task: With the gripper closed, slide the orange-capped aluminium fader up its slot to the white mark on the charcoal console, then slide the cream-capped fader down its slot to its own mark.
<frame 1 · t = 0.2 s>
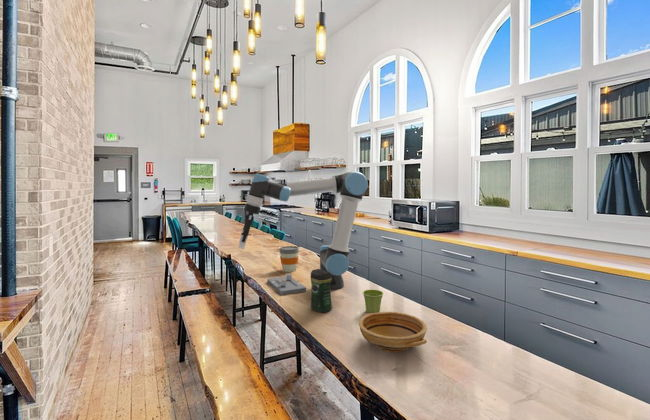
hand: (241, 245, 179), 27 cm above the table, tool tilted 20°, fingers open, 13 cm apart
coffee jar: (321, 309, 166), on the table
ceramic bowl: (392, 345, 130), on the table
fader B: (288, 276, 208), point 4 cm above the table, slide at 5.0 cm
plant pot: (373, 311, 163), on the table
reusable coffee cup: (289, 270, 238), on the table
fader A: (282, 282, 196), point 4 cm above the table, slide at -5.0 cm
console: (286, 286, 202), on the table
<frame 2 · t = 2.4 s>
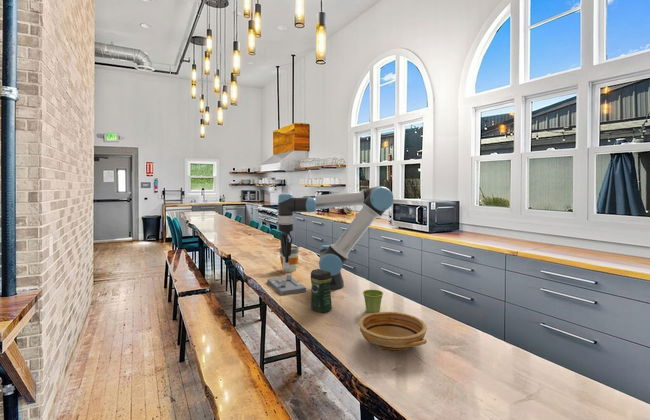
hand: (286, 268, 189), 14 cm above the table, tool pointing down, fingers closed
nothing on the table moved.
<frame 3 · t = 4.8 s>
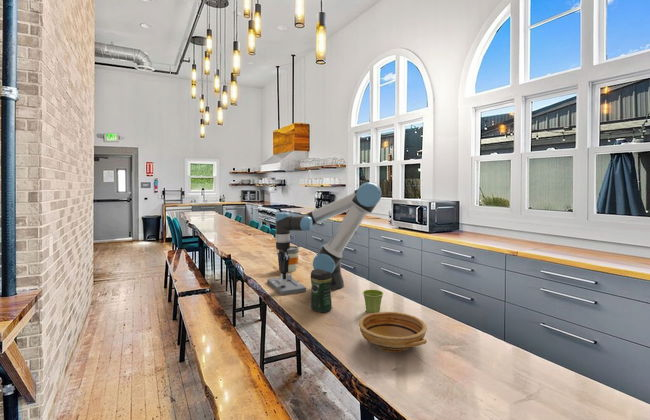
hand: (283, 284, 194), 3 cm above the table, tool pointing down, fingers closed
fader A: (282, 282, 196), point 4 cm above the table, slide at -5.0 cm, touching gripper
everything else where it was.
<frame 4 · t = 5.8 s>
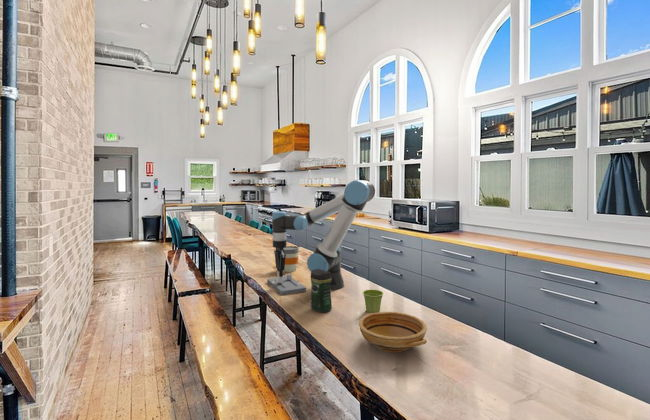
hand: (280, 281, 199), 3 cm above the table, tool pointing down, fingers closed
fader A: (279, 280, 201), point 4 cm above the table, slide at 0.8 cm, touching gripper
everything else where it was.
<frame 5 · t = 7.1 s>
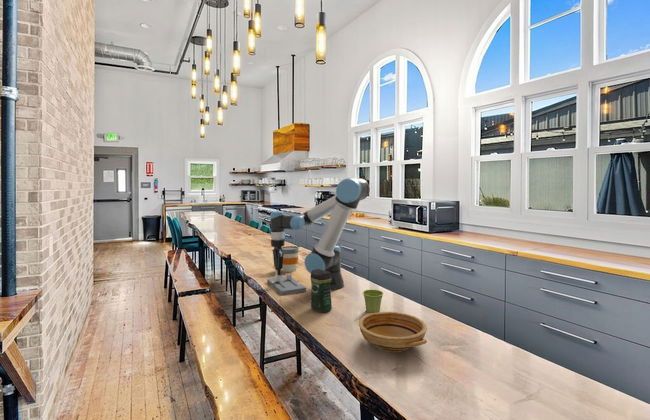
hand: (278, 280, 202), 3 cm above the table, tool pointing down, fingers closed
fader A: (277, 278, 204), point 4 cm above the table, slide at 4.2 cm, touching gripper
everything else where it was.
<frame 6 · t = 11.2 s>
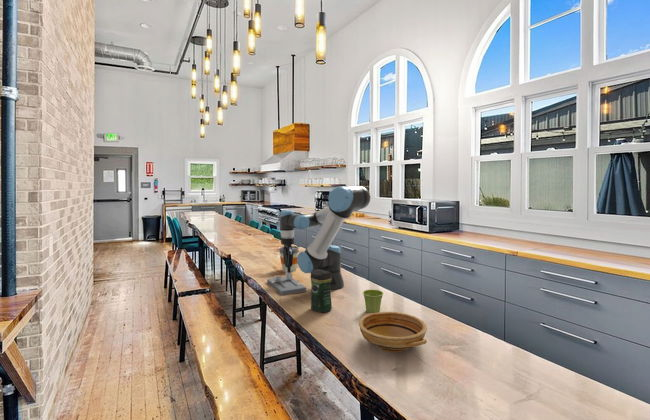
hand: (288, 277, 209), 3 cm above the table, tool pointing down, fingers closed
fader B: (289, 277, 207), point 4 cm above the table, slide at 4.2 cm, touching gripper
fader A: (277, 278, 204), point 4 cm above the table, slide at 4.2 cm
everything else where it was.
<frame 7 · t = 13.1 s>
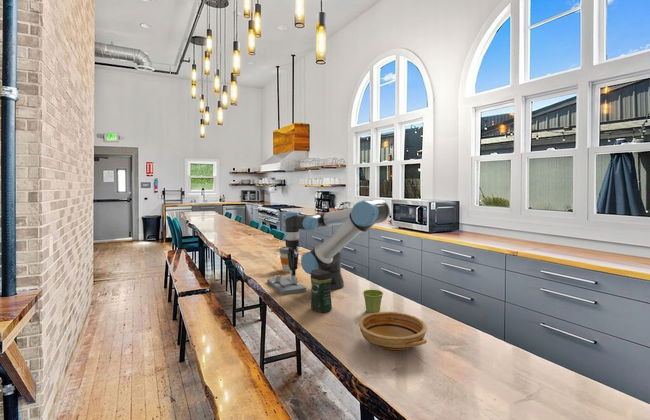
hand: (293, 280, 201), 3 cm above the table, tool pointing down, fingers closed
fader B: (294, 280, 200), point 4 cm above the table, slide at -3.7 cm, touching gripper
everything else where it was.
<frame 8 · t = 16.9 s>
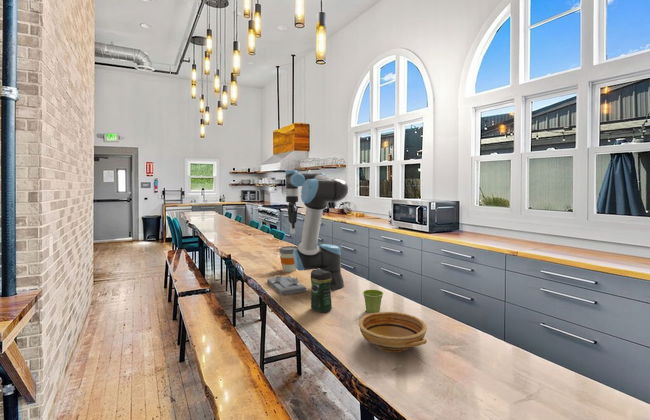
hand: (292, 233, 224), 26 cm above the table, tool pointing down, fingers closed
fader B: (294, 280, 199), point 4 cm above the table, slide at -4.2 cm
everything else where it was.
at the end: fader A slide at 4.2 cm; fader B slide at -4.2 cm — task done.
